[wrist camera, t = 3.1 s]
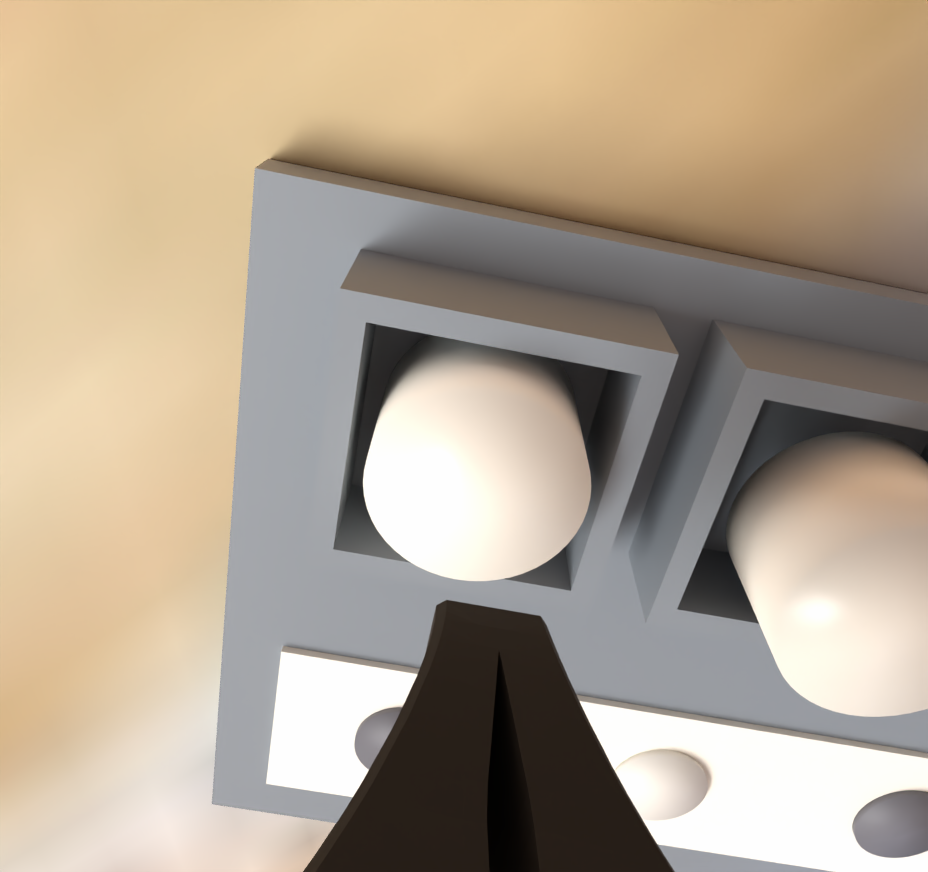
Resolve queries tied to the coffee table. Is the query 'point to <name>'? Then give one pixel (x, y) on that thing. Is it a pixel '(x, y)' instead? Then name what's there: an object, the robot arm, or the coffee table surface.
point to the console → (600, 535)
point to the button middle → (840, 569)
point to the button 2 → (477, 461)
